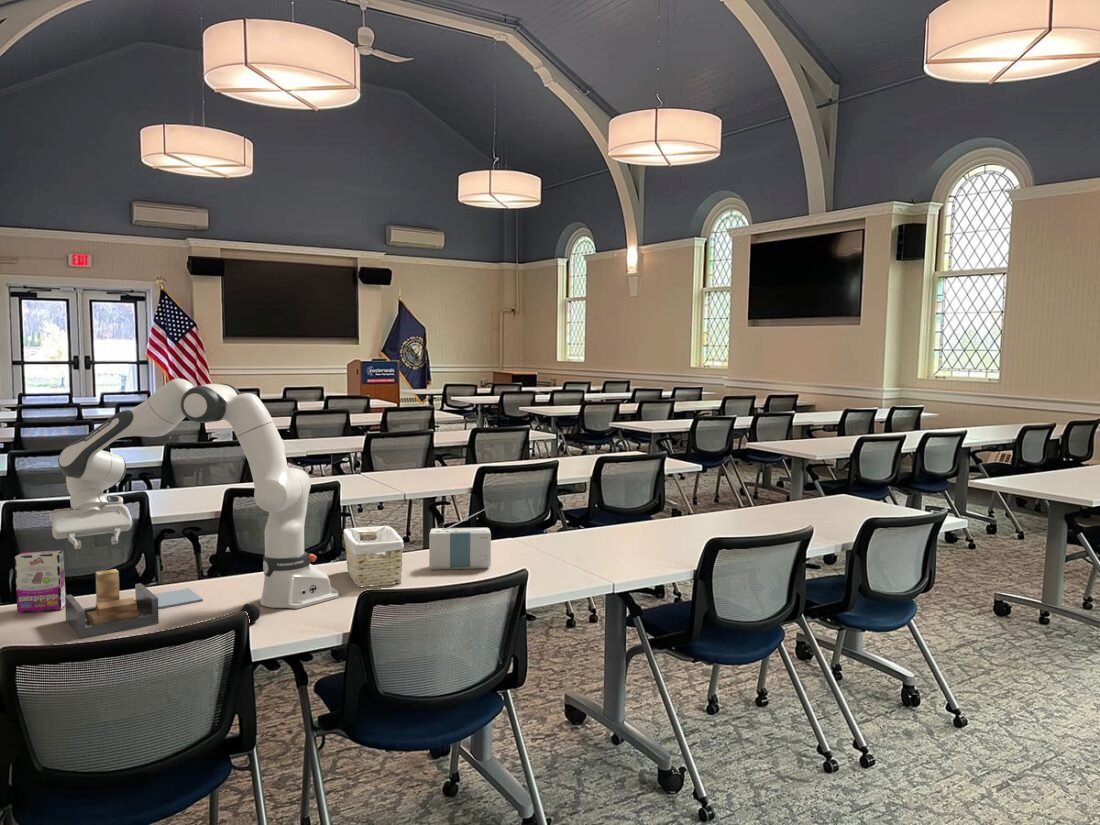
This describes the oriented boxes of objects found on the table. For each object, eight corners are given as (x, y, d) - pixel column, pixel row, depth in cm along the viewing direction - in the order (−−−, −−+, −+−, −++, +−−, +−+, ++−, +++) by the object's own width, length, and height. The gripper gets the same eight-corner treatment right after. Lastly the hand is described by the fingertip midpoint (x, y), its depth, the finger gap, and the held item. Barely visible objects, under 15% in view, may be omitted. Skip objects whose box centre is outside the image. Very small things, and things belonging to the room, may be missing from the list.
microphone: (189, 651, 208) (263, 624, 222) (188, 633, 206) (263, 607, 220) (181, 639, 212) (254, 614, 225) (180, 621, 210) (254, 596, 223)
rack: (141, 607, 233) (140, 583, 233) (158, 623, 220) (158, 598, 219) (65, 620, 221) (64, 595, 221) (79, 638, 207) (78, 611, 207)
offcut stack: (135, 617, 225) (135, 596, 225) (142, 623, 220) (141, 602, 219) (86, 626, 217) (85, 604, 217) (92, 633, 212) (91, 611, 212)
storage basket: (405, 585, 258) (405, 539, 257) (353, 590, 252) (353, 543, 251) (390, 566, 280) (390, 524, 279) (342, 571, 274) (342, 528, 273)
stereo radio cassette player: (429, 571, 275) (429, 513, 273) (429, 565, 283) (429, 508, 281) (490, 570, 277) (491, 512, 276) (489, 563, 286) (489, 507, 284)
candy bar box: (66, 605, 234) (64, 549, 233) (61, 610, 230) (59, 553, 228) (22, 608, 231) (20, 551, 230) (16, 613, 226) (14, 556, 225)
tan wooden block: (117, 614, 227) (115, 568, 226) (120, 617, 224) (118, 571, 223) (97, 618, 223) (95, 571, 222) (99, 621, 221) (98, 574, 220)
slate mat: (188, 590, 250) (188, 588, 250) (202, 601, 240) (202, 599, 239) (139, 598, 241) (139, 596, 241) (151, 610, 231) (151, 608, 230)
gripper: (48, 504, 230) (56, 544, 223) (128, 496, 243) (137, 534, 236) (46, 517, 234) (53, 557, 227) (124, 508, 247) (133, 546, 240)
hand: (97, 545), depth 232 cm, fingers open, 8 cm apart
